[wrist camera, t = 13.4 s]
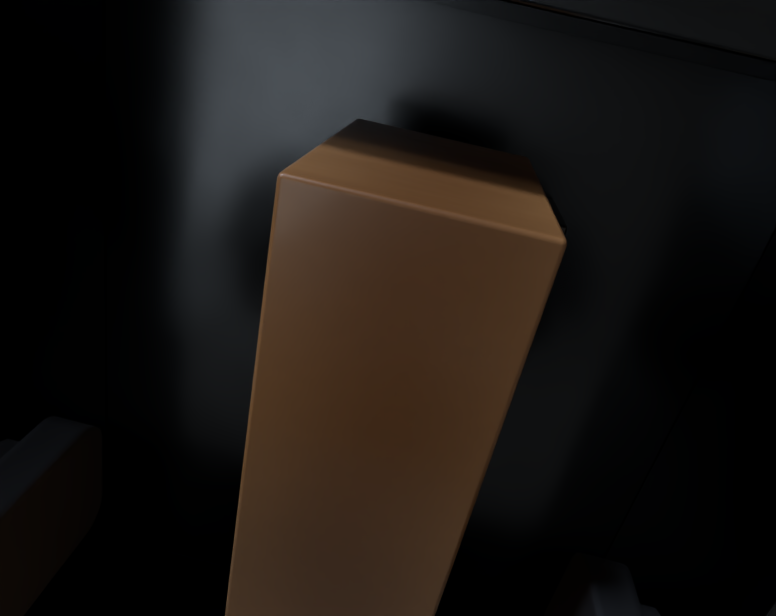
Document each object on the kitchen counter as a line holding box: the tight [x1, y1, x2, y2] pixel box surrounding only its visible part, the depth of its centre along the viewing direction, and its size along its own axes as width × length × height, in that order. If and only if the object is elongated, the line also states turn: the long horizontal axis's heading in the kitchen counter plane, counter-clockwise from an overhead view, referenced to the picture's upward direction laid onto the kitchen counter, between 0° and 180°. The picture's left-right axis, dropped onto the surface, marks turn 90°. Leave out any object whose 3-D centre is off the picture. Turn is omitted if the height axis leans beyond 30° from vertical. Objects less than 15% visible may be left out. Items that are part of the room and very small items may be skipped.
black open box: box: [0, 0, 776, 616], centre depth 12 cm, size 16×18×6 cm
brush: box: [225, 119, 567, 616], centre depth 11 cm, size 5×12×6 cm, turn 168°
